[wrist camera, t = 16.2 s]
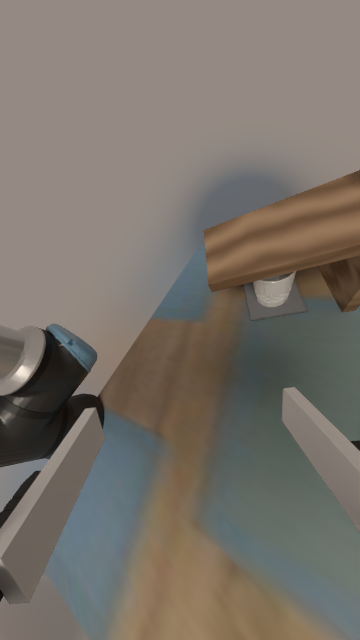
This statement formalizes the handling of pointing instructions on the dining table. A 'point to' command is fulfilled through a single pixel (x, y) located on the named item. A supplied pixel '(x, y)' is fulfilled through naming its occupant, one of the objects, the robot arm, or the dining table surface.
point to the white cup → (274, 289)
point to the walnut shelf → (293, 241)
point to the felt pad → (262, 312)
